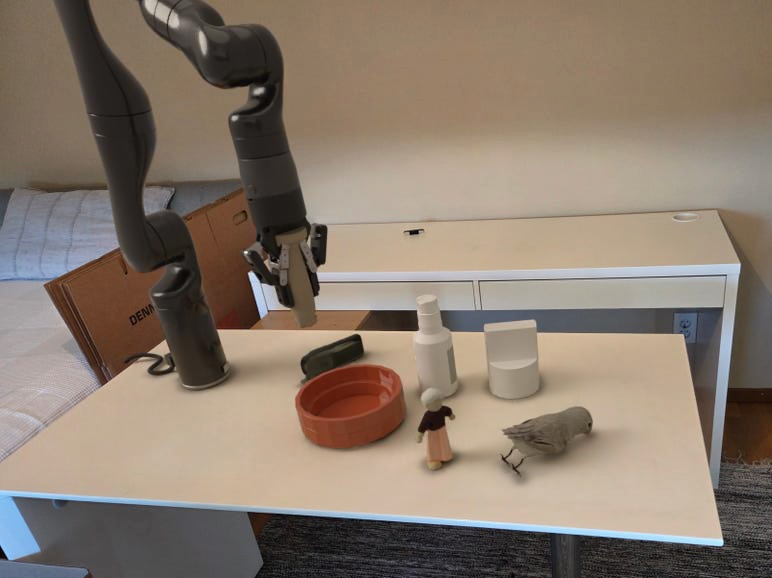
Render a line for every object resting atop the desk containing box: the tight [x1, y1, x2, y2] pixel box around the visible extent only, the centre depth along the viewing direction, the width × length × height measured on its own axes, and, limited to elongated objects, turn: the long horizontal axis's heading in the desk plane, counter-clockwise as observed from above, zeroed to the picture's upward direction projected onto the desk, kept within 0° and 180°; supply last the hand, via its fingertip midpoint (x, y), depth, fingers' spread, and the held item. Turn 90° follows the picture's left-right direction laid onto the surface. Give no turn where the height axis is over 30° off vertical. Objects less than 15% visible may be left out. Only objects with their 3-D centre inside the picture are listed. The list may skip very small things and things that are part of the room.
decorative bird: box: [499, 405, 594, 478], centre depth 94 cm, size 5×16×8 cm, turn 122°
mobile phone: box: [299, 333, 365, 385], centre depth 124 cm, size 5×3×15 cm
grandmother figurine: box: [414, 388, 457, 471], centre depth 94 cm, size 8×4×13 cm, turn 148°
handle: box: [275, 226, 318, 329], centre depth 94 cm, size 5×6×15 cm
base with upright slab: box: [483, 319, 540, 400], centre depth 111 cm, size 9×9×12 cm
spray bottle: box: [412, 293, 459, 399], centre depth 111 cm, size 7×7×18 cm
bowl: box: [294, 363, 407, 449], centre depth 107 cm, size 18×18×6 cm
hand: (301, 300), depth 96 cm, fingers closed on handle, 4 cm apart
